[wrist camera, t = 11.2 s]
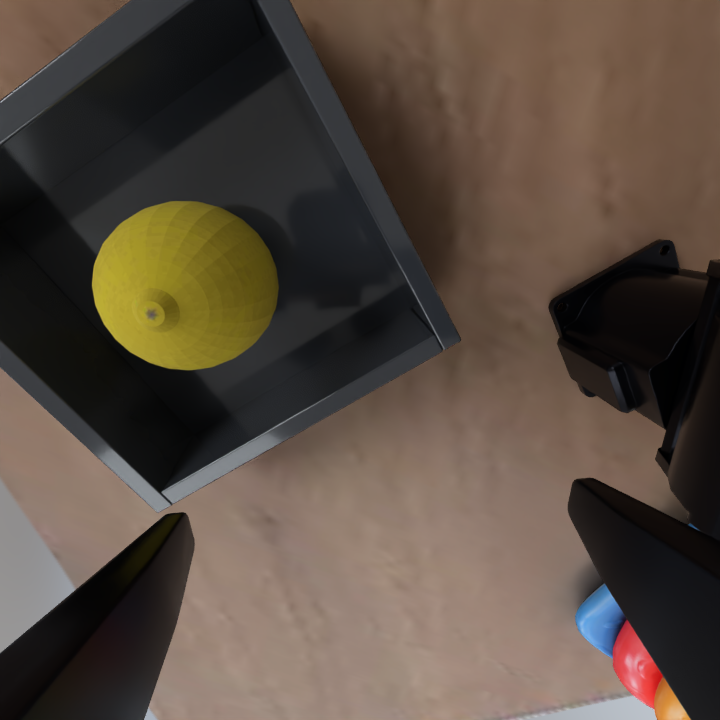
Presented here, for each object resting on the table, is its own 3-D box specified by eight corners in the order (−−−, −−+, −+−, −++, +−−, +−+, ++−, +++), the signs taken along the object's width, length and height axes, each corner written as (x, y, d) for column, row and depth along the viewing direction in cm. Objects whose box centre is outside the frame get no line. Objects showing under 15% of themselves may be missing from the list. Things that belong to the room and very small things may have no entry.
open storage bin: (271, 11, 15) (244, -90, 10) (427, 308, 19) (462, 341, 14) (-13, 217, 16) (-160, 220, 11) (196, 443, 21) (157, 513, 16)
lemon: (247, 349, 19) (196, 442, 11) (137, 283, 17) (-7, 339, 10) (311, 255, 17) (301, 289, 10) (198, 173, 16) (86, 140, 8)
